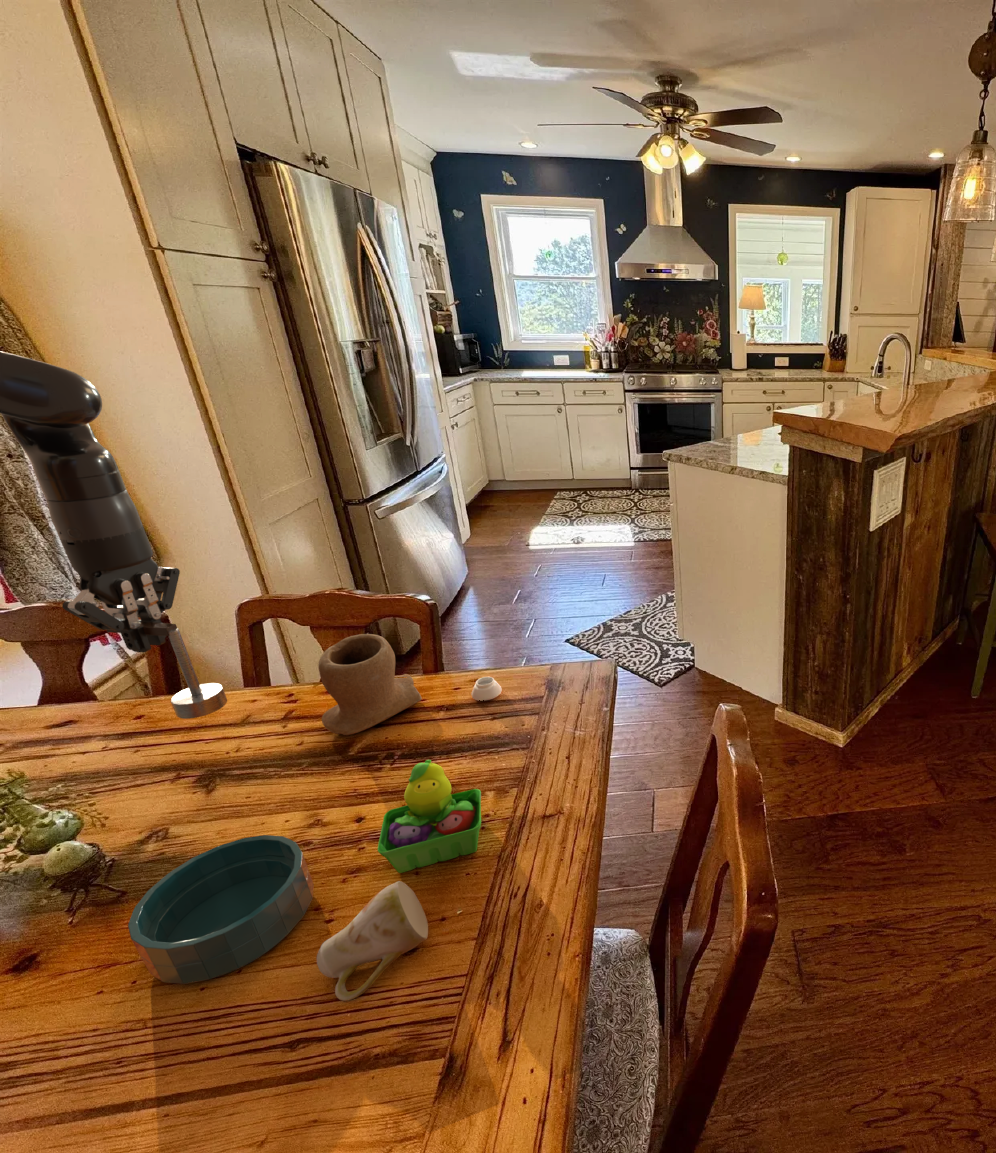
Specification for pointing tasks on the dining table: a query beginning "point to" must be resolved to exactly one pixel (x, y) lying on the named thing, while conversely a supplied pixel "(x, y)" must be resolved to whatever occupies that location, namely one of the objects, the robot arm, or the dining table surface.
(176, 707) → the rod with disc base
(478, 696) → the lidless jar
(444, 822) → the fruit basket
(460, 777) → the dining table surface
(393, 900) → the mug
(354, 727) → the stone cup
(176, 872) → the bowl
